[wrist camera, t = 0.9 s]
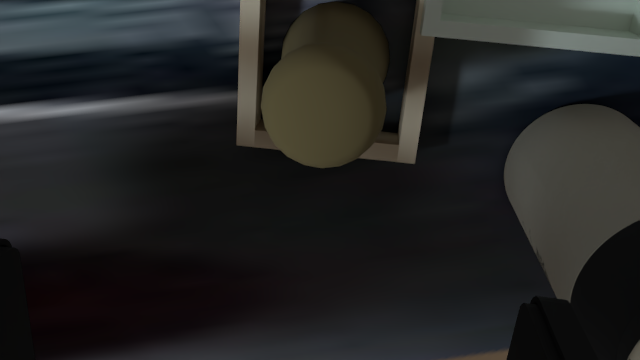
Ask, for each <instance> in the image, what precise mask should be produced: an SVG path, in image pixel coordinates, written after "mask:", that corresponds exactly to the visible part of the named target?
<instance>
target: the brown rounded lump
mask: <svg viewBox="0 0 640 360" xmlns="http://www.w3.org/2000/svg"><path fill="white" fill-rule="evenodd" d="M389 62H390V54H389V44H388V40H387V38H386V36H385V34H384V31H383V29H382V27H381V25H380V24H379V23H378V22H377V21H376V20H375V19H374V18H373V17H372V16H371V15H370V13H368V12H366V11H364V10H363V9H361V8H359V7H357V6H355V5H353V4H348V3H342V2H337V1H336V2H329V3H322V4H318V5H316V6H314V7H312V8H310V9H308V10H306V11H304V12H303V13H302V14H301V15H300V16H299V17H298V18H297V19H296V20H295V21H294V22H293V23H292V24H291V25H290V28H289V30H288V32H287V34H286V36H285V38H284V40H283V47H282V54H281V60H280V61H279V62H278V63H277V64H276V65H275V66H274V67H273V69H272V70H271V72H270V74H269V76H268V78H267V80H266V82H265V84H264V87H263V92H262V100H261V110H262V115H263V120H264V125H265V128H266V130H267V132H268V134H269V136H270V138H271V139H272V141H273V143H274V144H275V145H276V146H277V147H278V148H279V149H280V150H281V151H282V152H283V153H284V154H285V155H286V156H287V157H289V158H291V159H293V160H295V161H297V162H299V163H301V164H303V165H307V166H312V167H317V168H329V167H338V166H342V165H344V164H346V163H349V162H351V161H353V160H356V159H357V158H359V157H360V156H361V155H362V154H363V153H364V152H365V151H367V150H368V149H369V148H370V147H371V146H372V145H373V143H374V142H375V140H376V138H377V137H378V135H379V133H380V132H381V130H382V128H383V124H384V120H385V115H386V111H387V108H386V99H385V90H384V86H383V82H384V80H385V78H386V76H387V71H388V66H389Z"/></svg>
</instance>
